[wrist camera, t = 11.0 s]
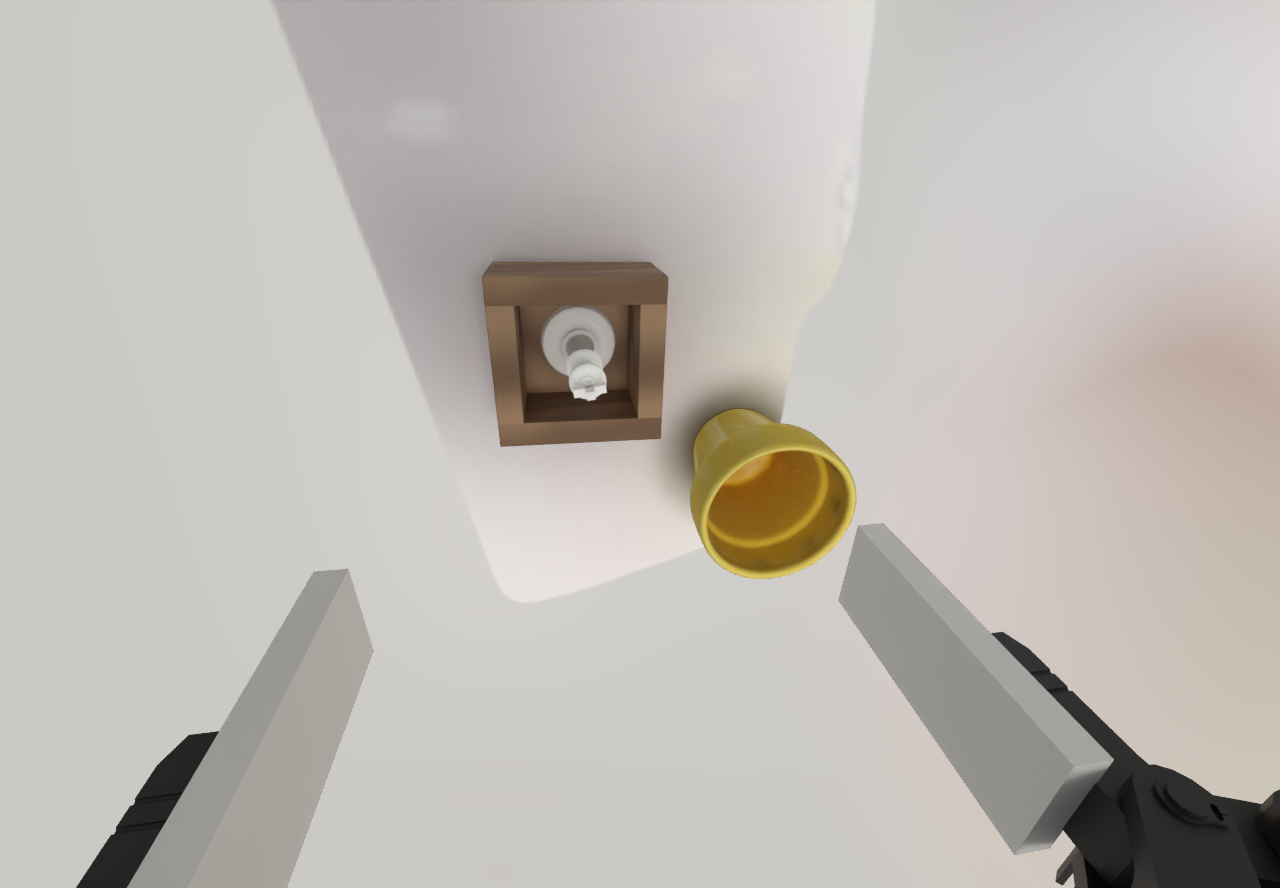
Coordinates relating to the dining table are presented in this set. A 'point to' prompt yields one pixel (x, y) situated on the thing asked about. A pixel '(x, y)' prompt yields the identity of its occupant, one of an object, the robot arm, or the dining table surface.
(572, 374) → the chess piece
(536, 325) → the walnut holder
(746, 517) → the plant pot
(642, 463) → the dining table surface
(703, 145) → the dining table surface
